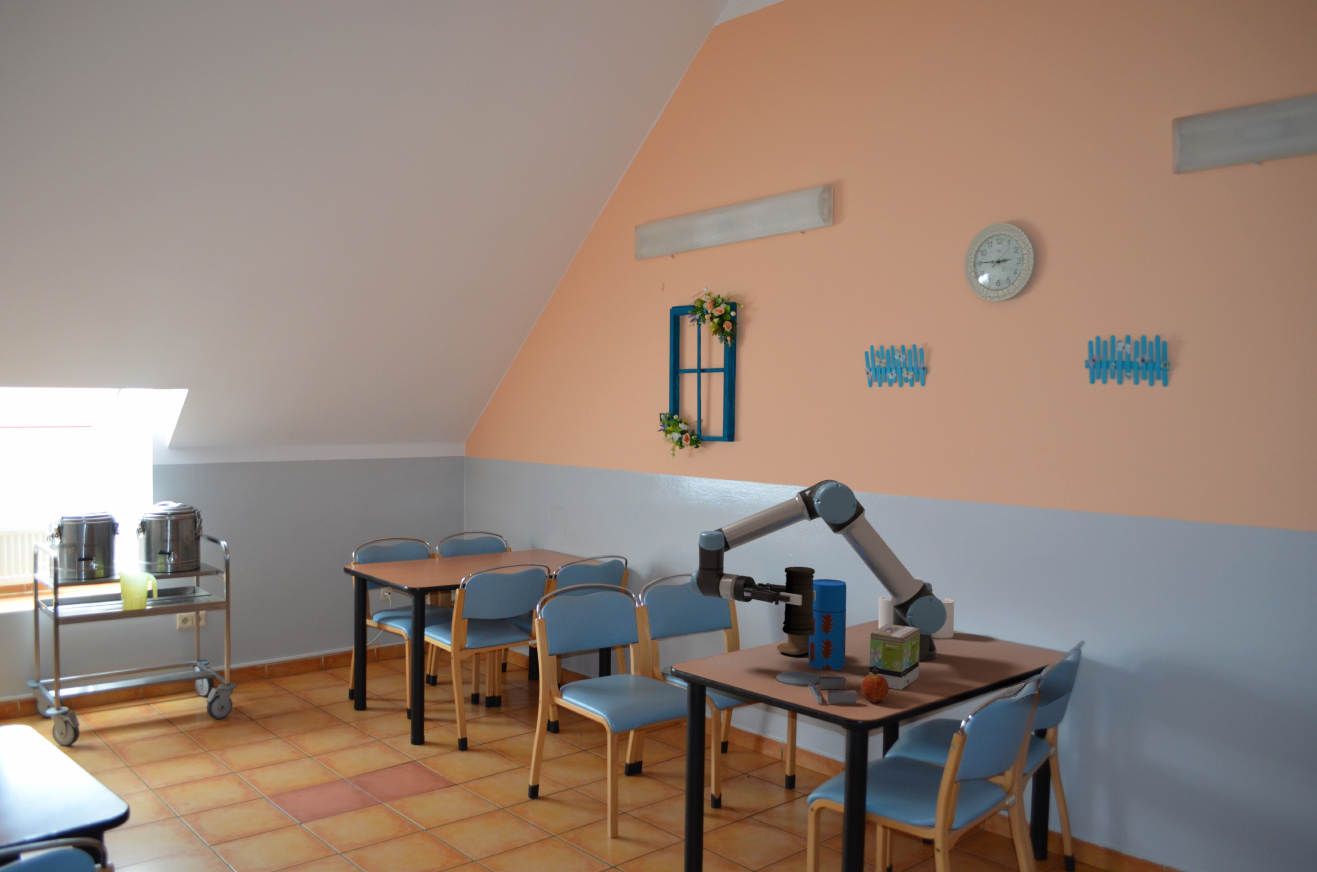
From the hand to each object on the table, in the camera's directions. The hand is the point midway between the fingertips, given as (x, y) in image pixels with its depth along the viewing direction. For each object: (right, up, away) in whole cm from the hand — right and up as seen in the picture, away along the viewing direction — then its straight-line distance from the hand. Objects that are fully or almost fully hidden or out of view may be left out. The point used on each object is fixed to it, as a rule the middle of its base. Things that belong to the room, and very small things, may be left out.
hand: (808, 597), depth 266 cm
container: (-2, -10, +2) cm, 11 cm away
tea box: (+25, -24, +2) cm, 34 cm away
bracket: (+46, -23, +59) cm, 79 cm away
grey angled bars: (+4, -24, -13) cm, 27 cm away
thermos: (+8, -23, +17) cm, 30 cm away
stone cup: (+3, -23, +32) cm, 40 cm away
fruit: (+15, -24, -17) cm, 33 cm away
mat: (-2, -23, +2) cm, 24 cm away
